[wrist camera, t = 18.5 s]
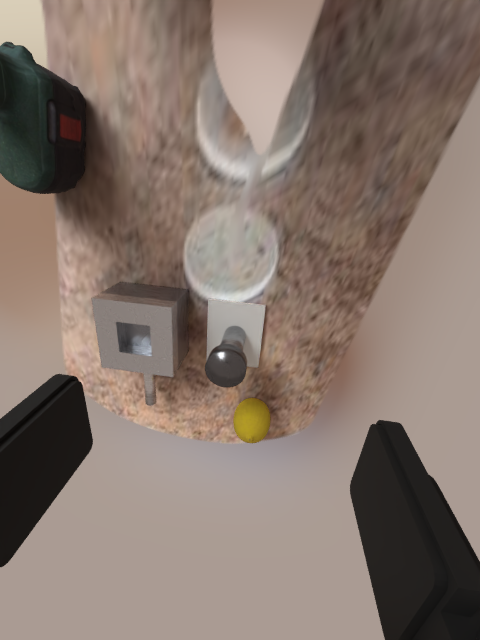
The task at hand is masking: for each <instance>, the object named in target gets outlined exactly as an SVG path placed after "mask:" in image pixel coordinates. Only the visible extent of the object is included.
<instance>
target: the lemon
mask: <svg viewBox="0 0 480 640" xmlns="http://www.w3.org/2000/svg"><path fill="white" fill-rule="evenodd" d="M269 427H270V412H269V409H268V407H267V406H266V404H265V403H264V402H263V401H261V400H259V399H257V398H248V399H245V400H243V401H242V402H241V403H240V404H239V405H238V407H237V408H236V410H235V414H234V429H235V432H236V434H237V436H238V437H239V438H240V439H241V440H243V441H244V442H247V443H256V442H259V441H261V440H262V439H263V438H264V437H265V436H266V434H267V432H268V430H269Z"/></svg>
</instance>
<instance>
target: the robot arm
mask: <svg viewBox="0 0 480 640" xmlns="http://www.w3.org/2000/svg"><path fill="white" fill-rule="evenodd" d="M92 444H93V439H92V433H91V428H90V424H89V418H88V412H87V407H86V402H85V396H84V391H83V386H82V383H81V382H79V381H78V378H77V377H75V376H69V375H62V374H57V375H55V376H53V377H52V378H50V379H49V380H48V381H47V382H46V383H44V384H43V385H42V386H40V387H39V388H38V389H37V390H36V391H34V392H33V393H32V394H31V395H29V396H28V397H27V398H26V399H24V400H23V401H22V402H21V403H20V404H18V405H17V406H16V407H14V408H13V409H12V410H11V411H9V412H8V413H7V414H6V415H5V416H3V417H2V418H1V419H0V567H3V566H4V565H6V564H7V563H8V562H9V560H10V559H11V558H12V557H13V555H14V554H15V553H16V551H17V550H18V548H19V547H20V546H21V544H22V543H23V542H24V540H25V539H26V538H27V536H28V535H29V534H30V532H31V531H32V529H33V528H34V527H35V525H36V524H37V523H38V521H39V520H40V519H41V517H42V516H43V514H44V513H45V512H46V510H47V509H48V508H49V506H50V505H51V503H52V502H53V501H54V499H55V498H56V497H57V495H58V494H59V493H60V491H61V490H62V489H63V487H64V486H65V484H66V483H67V482H68V480H69V479H70V478H71V476H72V475H73V474H74V472H75V471H76V470H77V468H78V467H79V465H80V464H81V463H82V461H83V460H84V459H85V457H86V456H87V454H88V453H89V452H90V450H91V448H92ZM350 494H351V499H352V503H353V507H354V511H355V516H356V520H357V524H358V528H359V532H360V537H361V541H362V545H363V549H364V554H365V557H366V562H367V566H368V571H369V575H370V579H371V583H372V587H373V592H374V595H375V600H376V604H377V609H378V613H379V617H380V621H381V625H382V629H383V633H384V637H385V640H480V561H479V560H478V558H477V556H476V554H475V552H474V550H473V549H472V547H471V545H470V543H469V541H468V539H467V537H466V536H465V534H464V532H463V530H462V528H461V527H460V525H459V523H458V521H457V519H456V517H455V515H454V514H453V512H452V510H451V508H450V506H449V504H448V503H447V501H446V499H445V498H444V495H443V493H442V492H441V490H440V488H439V486H438V484H437V483H436V481H435V480H434V478H432V477H431V476H430V475H428V473H427V471H426V469H425V467H424V466H423V464H422V462H421V460H420V458H419V456H418V454H417V452H416V451H415V449H414V447H413V445H412V443H411V441H410V439H409V437H408V436H407V434H406V432H405V430H404V428H403V426H402V425H401V424H400V423H397V422H390V421H383V420H379V421H378V422H377V423H376V424H372V425H371V426H370V428H369V431H368V434H367V437H366V440H365V443H364V446H363V449H362V452H361V454H360V457H359V460H358V463H357V466H356V469H355V472H354V474H353V477H352V480H351V484H350Z"/></svg>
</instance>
